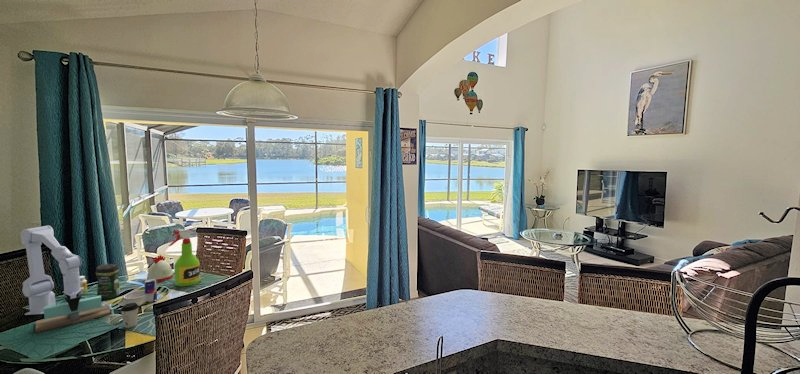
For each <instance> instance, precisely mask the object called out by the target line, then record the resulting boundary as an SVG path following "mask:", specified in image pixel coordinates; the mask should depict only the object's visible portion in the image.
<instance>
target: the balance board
mask: <svg viewBox="0 0 800 374" xmlns="http://www.w3.org/2000/svg"><path fill="white" fill-rule="evenodd" d="M111 314H112V312H111V310H110V306H109V305H108V304H104V305H102V307H99V308H95V309H90V310H86V311H81V312H76V313H72V314H67V315H63V316H58V317H54V318H49V319H45V318H44V319H40V320H36V321H35V328H34V330H35V333H40V331H41V332H45V331H48V330H49V331H50V330H53V329H57V328H60V327H65V326H68V325H69V326H70V325H73V324H76V323H81V322H85V321H89V320H93V319H96V318H100V317H105V316H108V315H109V316H110V315H111Z"/></svg>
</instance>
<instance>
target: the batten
mask: <svg viewBox="0 0 800 374" xmlns="http://www.w3.org/2000/svg"><path fill="white" fill-rule="evenodd" d="M102 306H103V305H102V299H101V295H100V296H97V295H95V296H90V297H86V298H81V299H80V301H79V304H78V309H77V310H76V311H71V310H70V307H69V304H68V303H67V302H60V303H56V304H55V305H50V306H45V307H44V314H43V315H44V319H49V318H54V317H58V316H63V315H67V314H72V313H76V312H81V311H86V310H90V309H95V308H99V307H102Z"/></svg>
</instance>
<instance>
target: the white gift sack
mask: <svg viewBox="0 0 800 374" xmlns="http://www.w3.org/2000/svg"><path fill="white" fill-rule="evenodd" d="M147 271H148V273H147V276H146V280H147V279H156V283H158V282H163V281H164V282H165V281H168V280H170V279H172V278H173V277H174V270H173V268H172V267H171V265H170V263H168V262H167V261H166V257H165V256H163V255H161V254H160V255H158V256H155V258H154V259H153V263H152V265H150V267H149V268H148V269H147Z"/></svg>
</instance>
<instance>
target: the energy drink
mask: <svg viewBox="0 0 800 374" xmlns="http://www.w3.org/2000/svg"><path fill="white" fill-rule="evenodd" d="M143 285H144V302H145V301H146V302H153V301H155V300H157V301H158V291H157V287H158V286H157V282H156V279H147V278H146V279H145V280H144V284H143ZM146 302H145V303H146ZM155 302H156V301H155ZM153 303H154V302H153Z"/></svg>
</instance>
